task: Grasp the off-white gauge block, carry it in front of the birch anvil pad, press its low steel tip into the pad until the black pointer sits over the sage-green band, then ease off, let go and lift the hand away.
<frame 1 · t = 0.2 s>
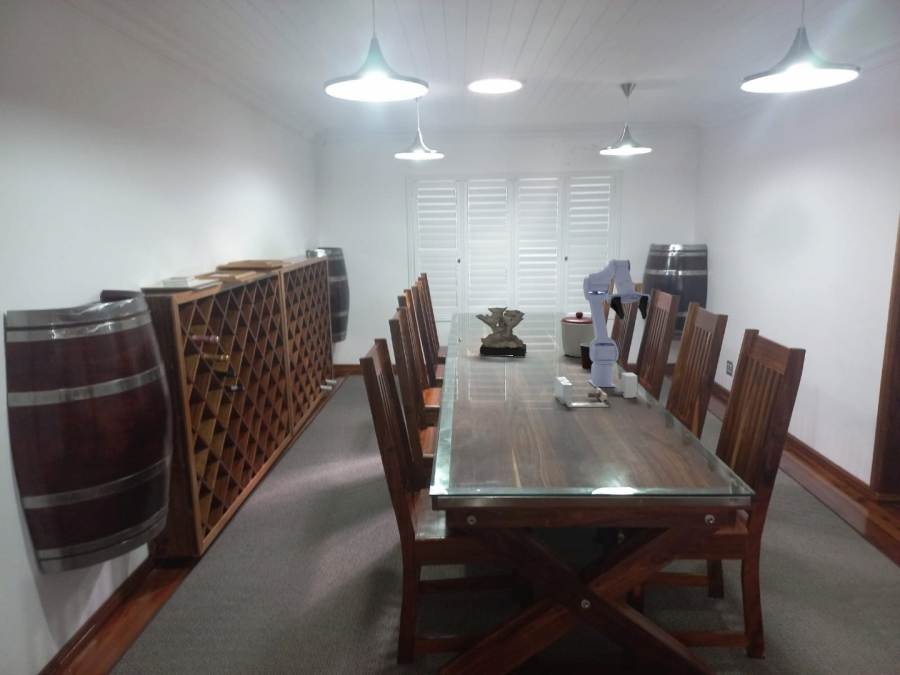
hand: (633, 317, 197), 31 cm above the table, tool tilted 45°, fingers open, 7 cm apart
coffee mug: (592, 367, 259), on the table
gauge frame: (602, 399, 209), on the table
gauge block: (628, 395, 215), on the table
coral: (500, 352, 290), on the table
canister: (577, 355, 284), on the table
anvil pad: (597, 396, 207), point 2 cm above the table, slide at 0.0 cm
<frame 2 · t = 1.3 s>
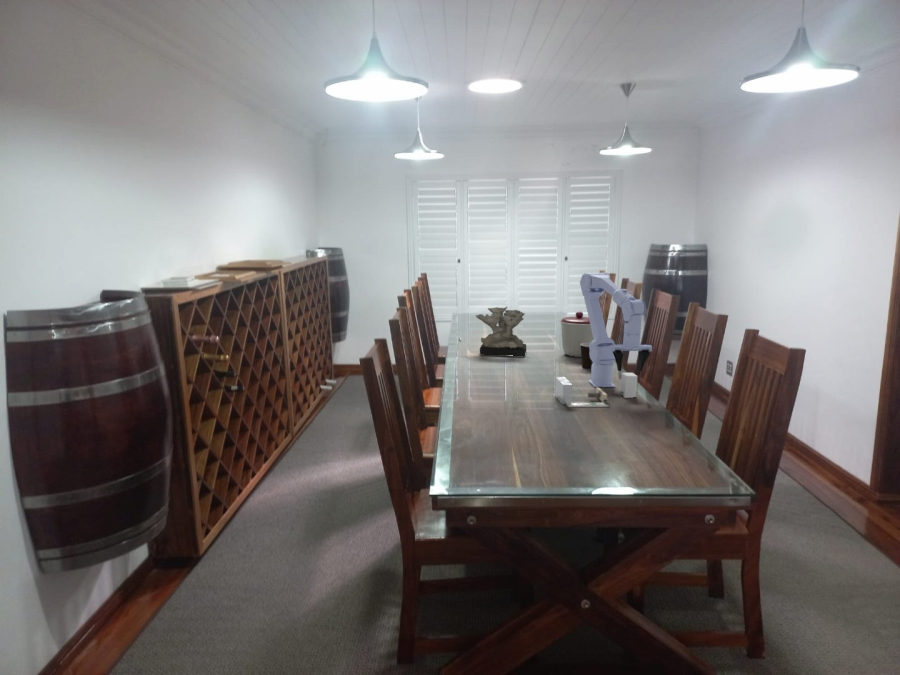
hand: (629, 370, 213), 9 cm above the table, tool pointing down, fingers open, 7 cm apart
nothing on the table moved.
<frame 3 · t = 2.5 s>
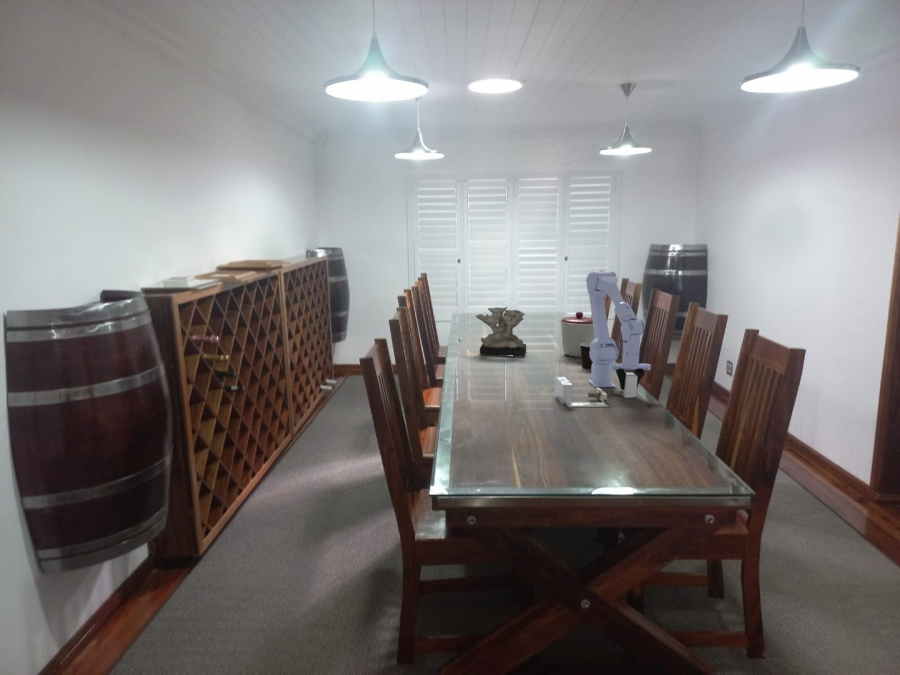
hand: (628, 389, 214), 2 cm above the table, tool pointing down, fingers closed on gauge block, 4 cm apart
gauge block: (628, 395, 215), on the table, touching gripper
everything else where it was.
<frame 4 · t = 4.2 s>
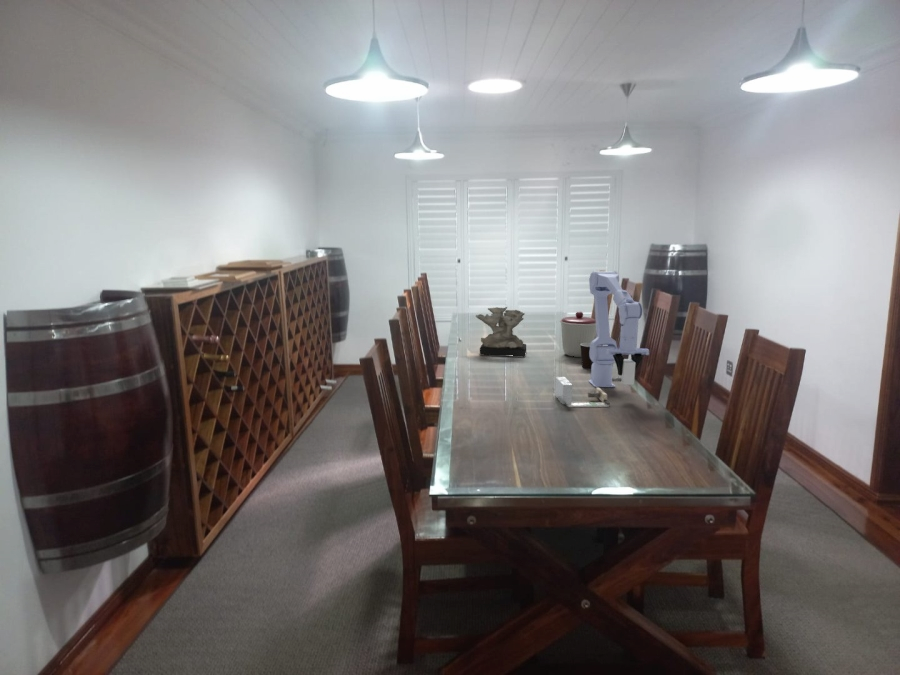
hand: (626, 374, 208), 9 cm above the table, tool pointing down, fingers closed on gauge block, 4 cm apart
gauge block: (625, 382, 209), point 6 cm above the table, touching gripper
everything else where it was.
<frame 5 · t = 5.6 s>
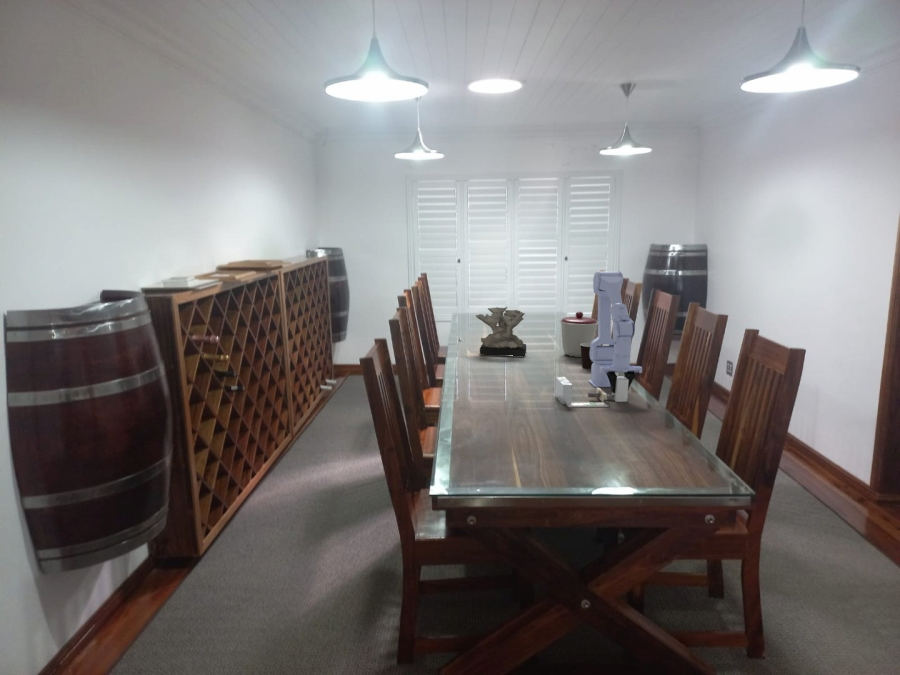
hand: (619, 392, 209), 3 cm above the table, tool pointing down, fingers closed on gauge block, 4 cm apart
gauge block: (619, 399, 210), on the table, touching gripper
everything else where it was.
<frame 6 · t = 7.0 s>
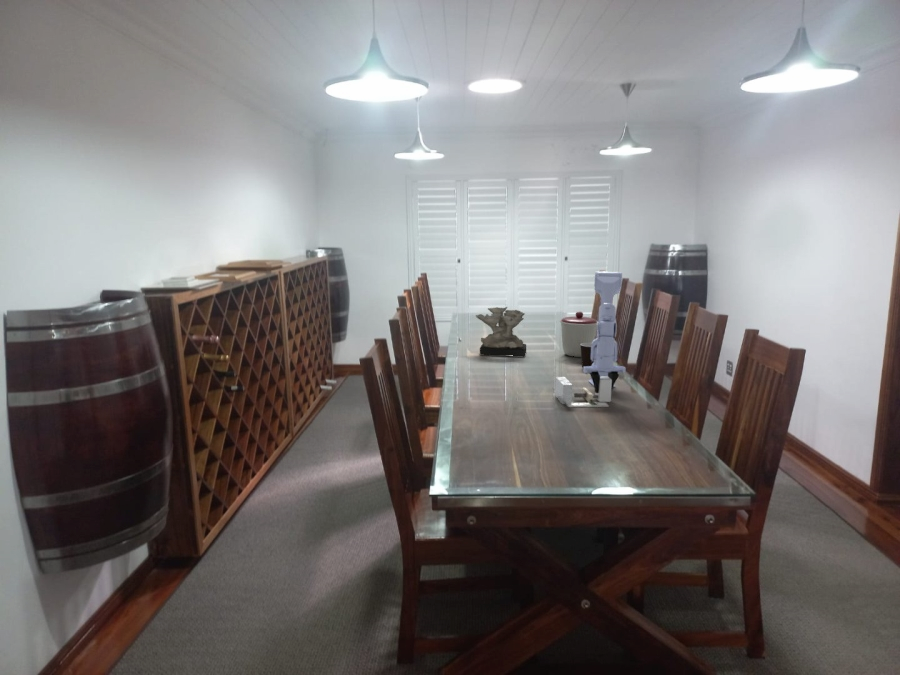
hand: (603, 392, 209), 3 cm above the table, tool pointing down, fingers closed on gauge block, 4 cm apart
gauge block: (602, 399, 209), on the table, touching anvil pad, gripper
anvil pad: (583, 397, 206), point 2 cm above the table, slide at 5.0 cm, touching gauge block
everything else where it was.
when the fingers open (3 cm above the table, at t = 8.9 s): gauge block stays where it is, on the table.
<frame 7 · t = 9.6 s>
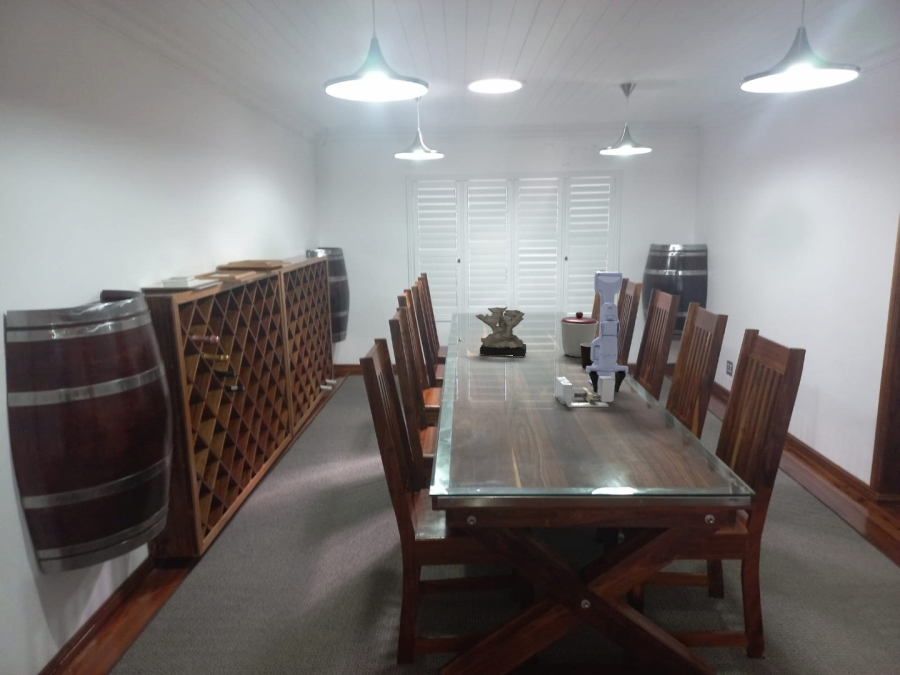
hand: (605, 391, 209), 3 cm above the table, tool pointing down, fingers open, 7 cm apart
gauge block: (605, 399, 209), on the table
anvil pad: (583, 397, 206), point 2 cm above the table, slide at 5.0 cm
everything else where it was.
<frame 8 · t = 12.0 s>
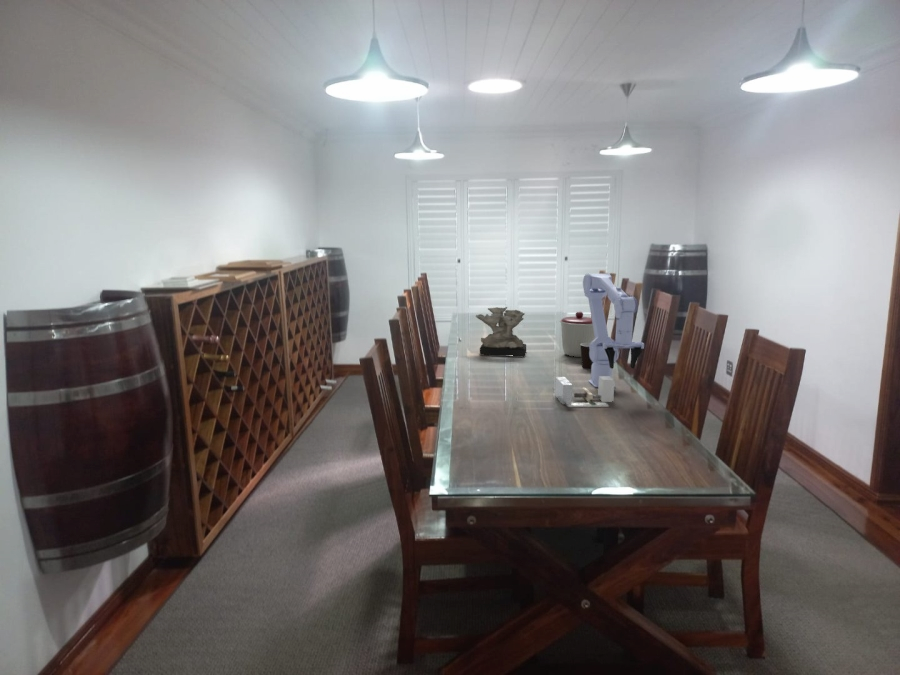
hand: (621, 367, 213), 10 cm above the table, tool pointing down, fingers open, 7 cm apart
nothing on the table moved.
at the end: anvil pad slide at 5.0 cm; the gripper is holding nothing; gauge block tilted 0° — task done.
